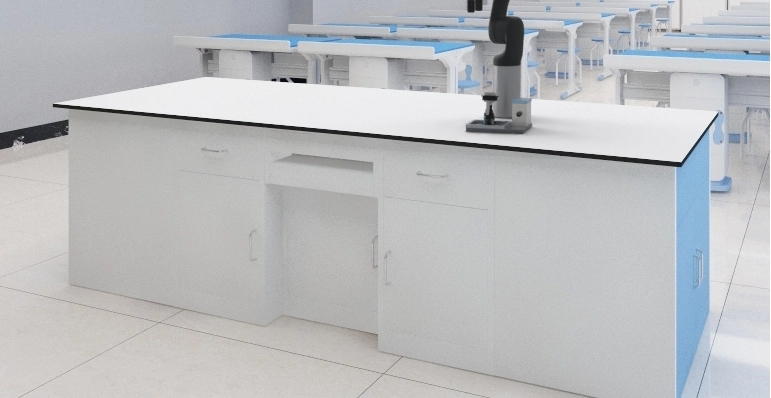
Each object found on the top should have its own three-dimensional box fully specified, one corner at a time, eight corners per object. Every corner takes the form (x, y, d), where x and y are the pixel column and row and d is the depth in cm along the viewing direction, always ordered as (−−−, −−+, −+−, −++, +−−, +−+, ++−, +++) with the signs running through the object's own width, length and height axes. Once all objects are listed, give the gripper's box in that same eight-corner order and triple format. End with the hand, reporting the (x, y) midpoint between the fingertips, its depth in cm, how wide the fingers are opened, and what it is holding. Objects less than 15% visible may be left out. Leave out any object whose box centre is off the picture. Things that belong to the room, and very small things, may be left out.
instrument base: (477, 124, 300) (477, 96, 298) (532, 126, 294) (532, 97, 292) (465, 131, 289) (465, 101, 286) (522, 134, 282) (523, 103, 280)
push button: (492, 125, 286) (494, 92, 285) (476, 124, 288) (477, 91, 287) (499, 125, 292) (501, 93, 291) (482, 124, 294) (484, 92, 293)
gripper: (469, -43, 289) (469, 10, 293) (456, -43, 276) (456, 13, 280) (493, -44, 286) (492, 10, 290) (480, -43, 274) (480, 13, 278)
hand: (475, 11), depth 285 cm, fingers open, 8 cm apart
